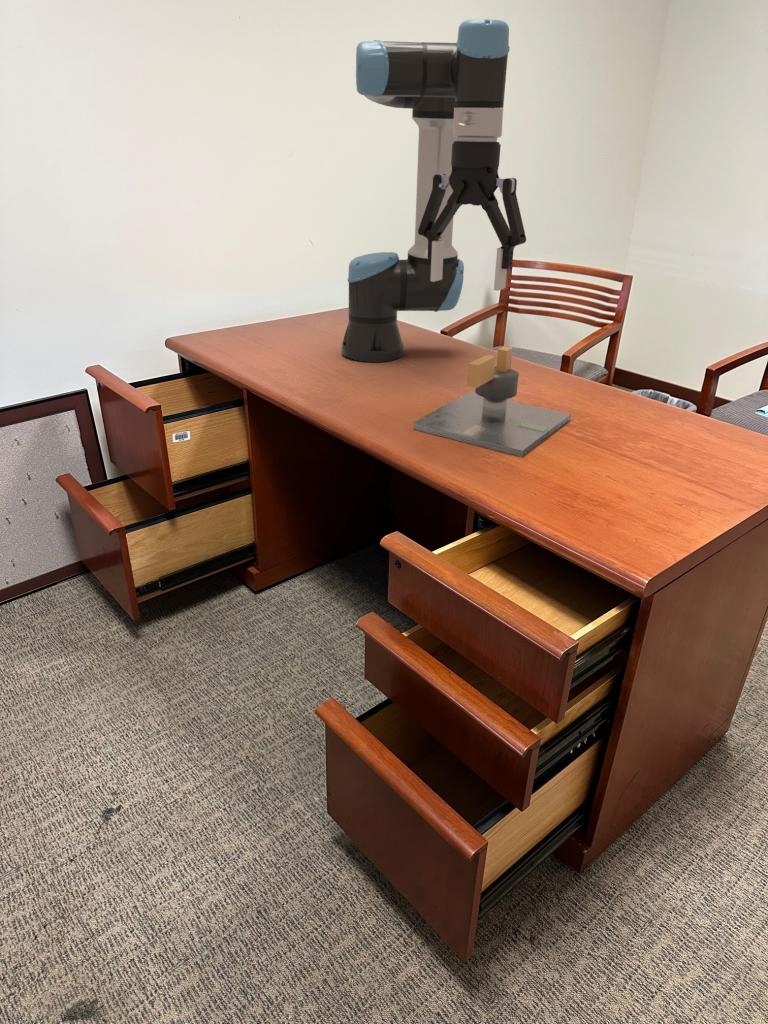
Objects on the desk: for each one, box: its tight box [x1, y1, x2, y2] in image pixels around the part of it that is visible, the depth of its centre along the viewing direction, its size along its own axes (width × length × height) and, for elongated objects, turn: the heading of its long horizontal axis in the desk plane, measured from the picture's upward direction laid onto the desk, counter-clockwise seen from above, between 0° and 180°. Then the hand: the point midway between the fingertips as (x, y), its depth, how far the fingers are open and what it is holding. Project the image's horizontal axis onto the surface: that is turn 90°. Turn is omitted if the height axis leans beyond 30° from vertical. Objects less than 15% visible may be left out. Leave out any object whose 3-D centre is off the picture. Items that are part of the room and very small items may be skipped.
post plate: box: [412, 391, 572, 458], centre depth 138 cm, size 22×22×6 cm
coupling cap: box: [466, 346, 520, 400], centre depth 132 cm, size 14×8×8 cm, turn 146°
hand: (467, 284), depth 124 cm, fingers open, 11 cm apart
